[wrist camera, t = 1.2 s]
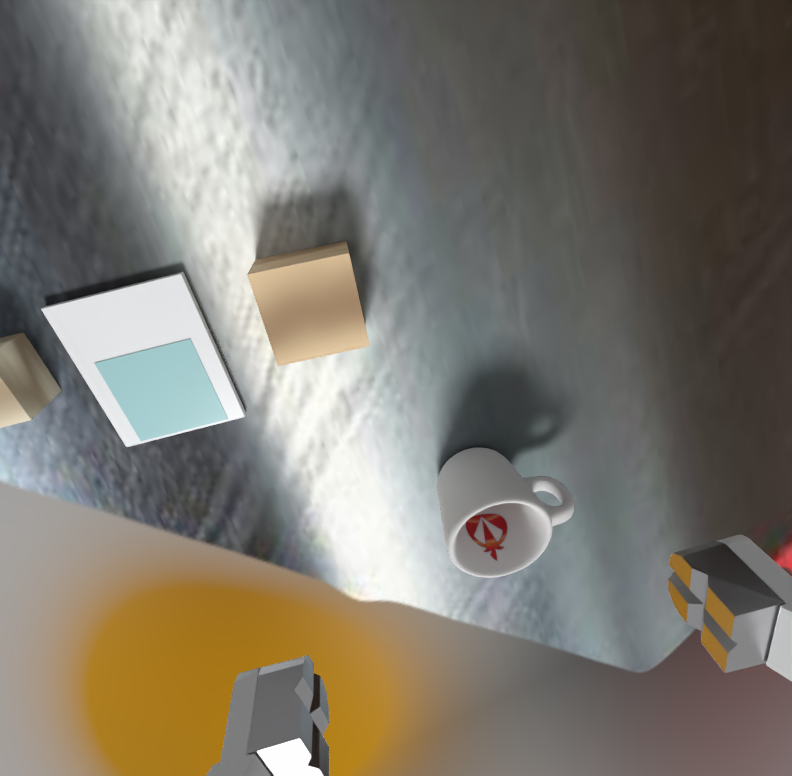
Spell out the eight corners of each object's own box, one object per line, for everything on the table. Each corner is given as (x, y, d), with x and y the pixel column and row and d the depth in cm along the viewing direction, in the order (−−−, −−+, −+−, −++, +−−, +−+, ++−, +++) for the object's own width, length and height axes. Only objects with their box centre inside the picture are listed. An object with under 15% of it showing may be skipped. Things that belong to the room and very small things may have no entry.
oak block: (255, 259, 31) (247, 274, 27) (346, 240, 31) (349, 253, 27) (282, 342, 34) (277, 366, 30) (364, 324, 34) (369, 346, 30)
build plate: (46, 305, 30) (40, 309, 29) (183, 271, 30) (180, 274, 30) (129, 442, 35) (126, 447, 35) (245, 412, 35) (244, 417, 35)
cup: (549, 423, 40) (597, 484, 33) (542, 495, 44) (584, 563, 37) (424, 441, 39) (446, 508, 32) (428, 513, 43) (449, 587, 36)
